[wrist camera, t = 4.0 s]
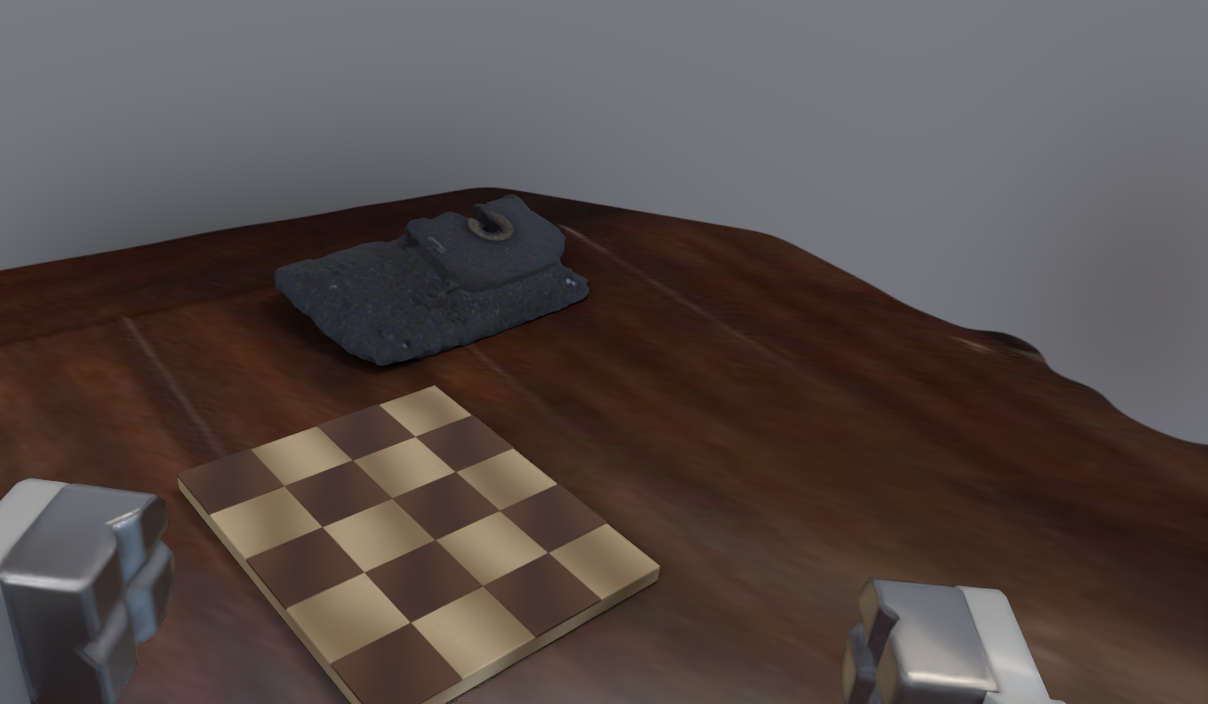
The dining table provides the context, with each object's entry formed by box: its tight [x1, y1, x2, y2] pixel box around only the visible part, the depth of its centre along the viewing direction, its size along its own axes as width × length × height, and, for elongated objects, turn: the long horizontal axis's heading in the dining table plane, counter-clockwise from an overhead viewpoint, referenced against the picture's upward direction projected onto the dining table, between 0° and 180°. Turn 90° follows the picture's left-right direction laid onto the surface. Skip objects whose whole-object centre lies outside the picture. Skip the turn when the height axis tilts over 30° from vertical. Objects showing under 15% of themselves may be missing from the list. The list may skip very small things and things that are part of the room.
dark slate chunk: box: [274, 194, 589, 366], centre depth 74 cm, size 15×22×5 cm
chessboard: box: [177, 386, 660, 704], centre depth 52 cm, size 16×20×1 cm
